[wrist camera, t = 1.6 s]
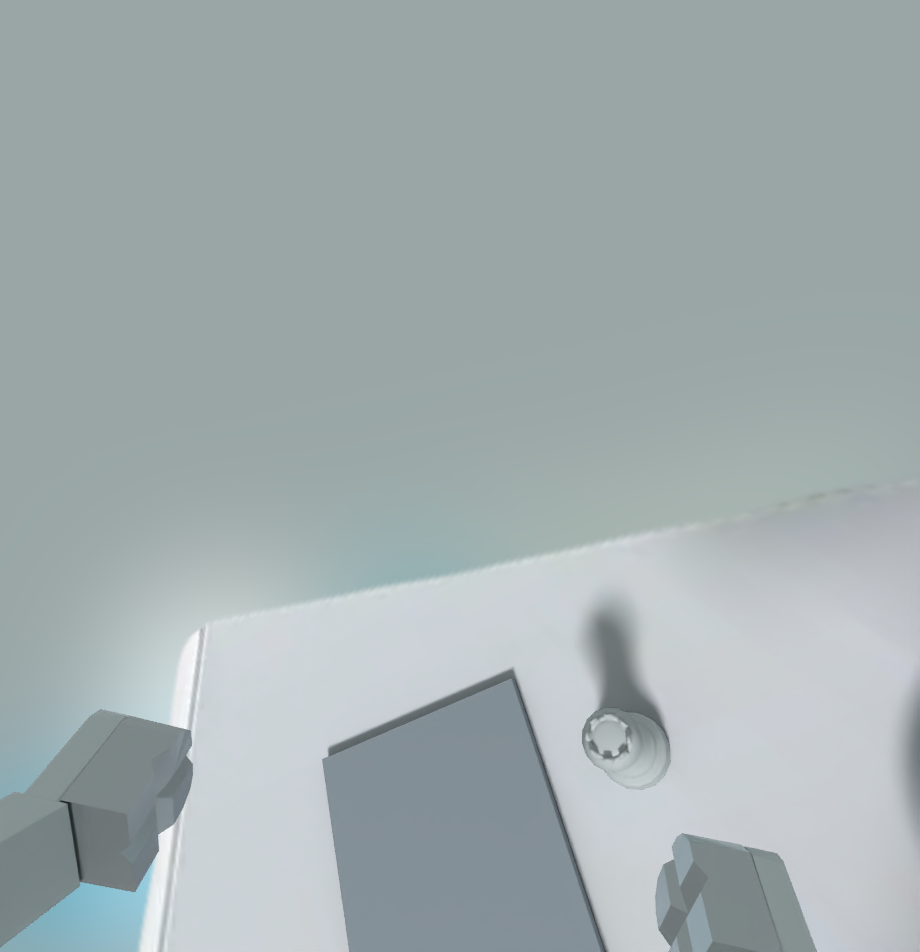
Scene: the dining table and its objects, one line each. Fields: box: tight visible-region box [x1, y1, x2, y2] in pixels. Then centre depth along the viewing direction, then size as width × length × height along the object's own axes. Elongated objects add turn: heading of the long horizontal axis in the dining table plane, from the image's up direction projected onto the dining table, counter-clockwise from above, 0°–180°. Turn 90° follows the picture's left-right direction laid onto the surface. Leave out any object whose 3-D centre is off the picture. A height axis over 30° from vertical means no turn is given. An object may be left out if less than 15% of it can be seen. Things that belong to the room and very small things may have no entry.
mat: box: [322, 678, 605, 952], centre depth 41 cm, size 20×16×1 cm
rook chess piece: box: [582, 708, 670, 790], centre depth 37 cm, size 4×4×8 cm
